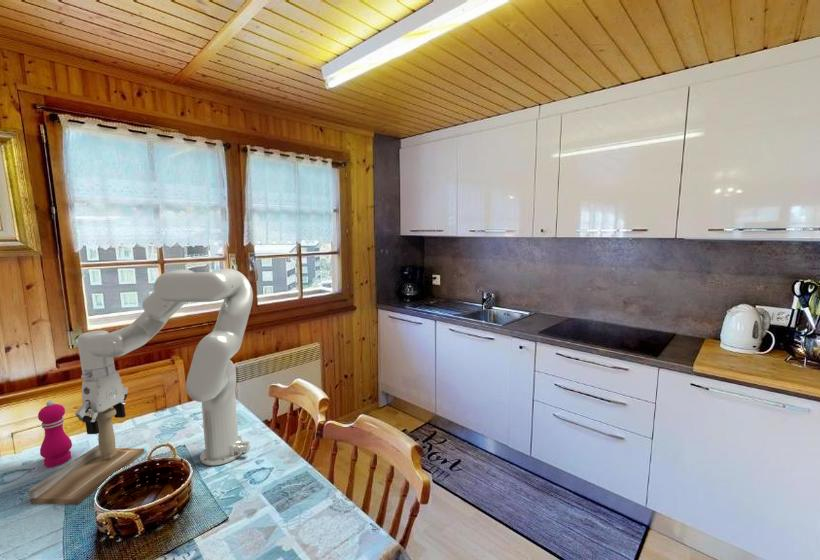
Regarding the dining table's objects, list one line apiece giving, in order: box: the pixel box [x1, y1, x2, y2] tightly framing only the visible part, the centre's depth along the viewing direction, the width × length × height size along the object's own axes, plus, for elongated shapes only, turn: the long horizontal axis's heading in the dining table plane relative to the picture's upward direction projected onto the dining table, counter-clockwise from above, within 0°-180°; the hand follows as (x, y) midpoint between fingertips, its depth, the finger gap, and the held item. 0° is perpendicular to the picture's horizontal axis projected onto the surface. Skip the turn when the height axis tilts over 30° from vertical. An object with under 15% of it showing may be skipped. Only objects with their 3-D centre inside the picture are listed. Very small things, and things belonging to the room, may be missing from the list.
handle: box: [90, 407, 116, 460], centre depth 113 cm, size 5×6×15 cm
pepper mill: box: [37, 399, 73, 468], centre depth 114 cm, size 7×7×20 cm
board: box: [28, 444, 145, 505], centre depth 108 cm, size 13×23×4 cm, turn 178°
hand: (107, 425), depth 113 cm, fingers open, 9 cm apart
